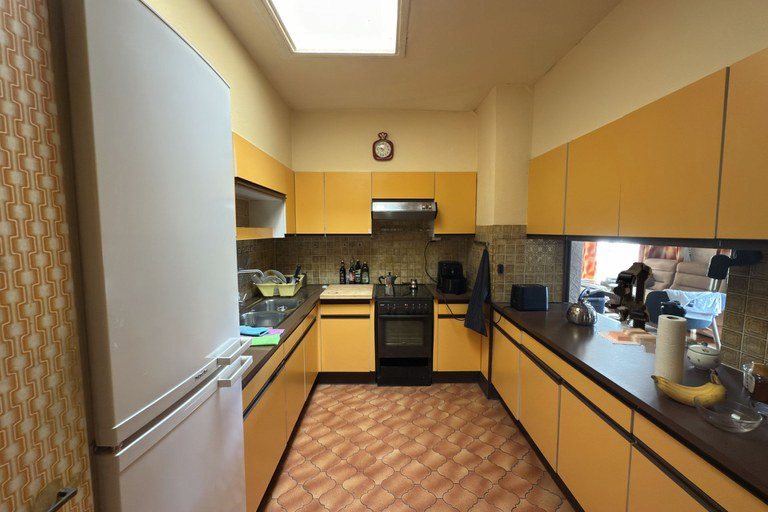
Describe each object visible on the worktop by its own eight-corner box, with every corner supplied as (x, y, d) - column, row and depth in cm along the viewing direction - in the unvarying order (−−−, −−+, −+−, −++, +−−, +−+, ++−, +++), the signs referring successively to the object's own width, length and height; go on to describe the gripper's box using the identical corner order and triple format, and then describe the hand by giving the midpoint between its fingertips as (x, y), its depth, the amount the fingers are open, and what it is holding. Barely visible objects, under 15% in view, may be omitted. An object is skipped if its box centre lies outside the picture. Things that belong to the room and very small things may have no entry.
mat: (596, 332, 181) (596, 331, 181) (621, 333, 179) (621, 333, 179) (613, 343, 164) (613, 343, 164) (640, 345, 161) (640, 344, 161)
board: (622, 334, 178) (622, 327, 177) (639, 335, 176) (640, 328, 176) (639, 344, 162) (640, 337, 162) (659, 345, 160) (659, 338, 160)
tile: (620, 331, 174) (620, 335, 175) (609, 330, 176) (608, 334, 176) (630, 336, 166) (629, 341, 166) (618, 336, 167) (617, 340, 167)
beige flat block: (653, 352, 152) (655, 337, 151) (655, 353, 151) (656, 338, 150) (636, 350, 155) (637, 335, 154) (638, 351, 153) (639, 336, 153)
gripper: (615, 296, 162) (613, 324, 163) (654, 297, 158) (652, 326, 160) (604, 292, 173) (602, 318, 174) (641, 293, 169) (639, 319, 171)
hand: (624, 320), depth 169 cm, fingers closed
